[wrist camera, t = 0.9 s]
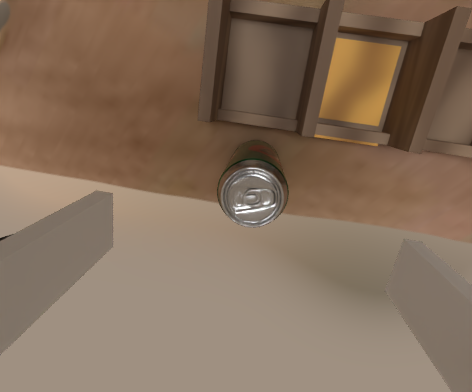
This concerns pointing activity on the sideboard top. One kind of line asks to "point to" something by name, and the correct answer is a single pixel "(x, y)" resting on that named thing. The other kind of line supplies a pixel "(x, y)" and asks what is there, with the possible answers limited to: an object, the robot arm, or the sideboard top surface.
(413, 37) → the slot rack
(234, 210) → the soda can
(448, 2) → the sideboard top surface
